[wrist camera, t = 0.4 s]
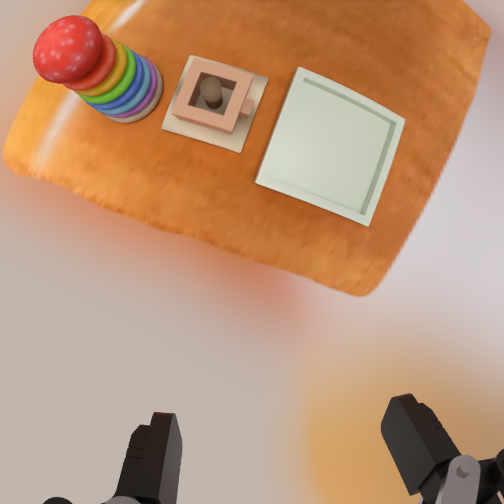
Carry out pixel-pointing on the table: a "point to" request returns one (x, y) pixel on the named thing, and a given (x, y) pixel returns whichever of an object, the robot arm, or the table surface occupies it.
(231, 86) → the collar
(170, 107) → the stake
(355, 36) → the table surface
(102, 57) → the stacking toy
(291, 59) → the table surface
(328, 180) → the tray
